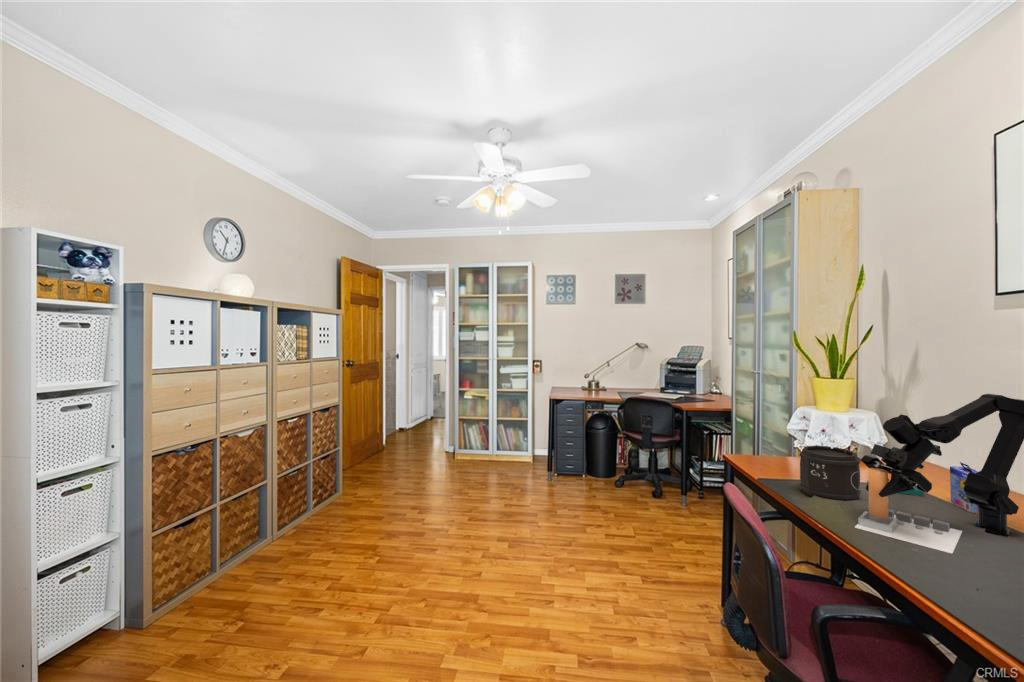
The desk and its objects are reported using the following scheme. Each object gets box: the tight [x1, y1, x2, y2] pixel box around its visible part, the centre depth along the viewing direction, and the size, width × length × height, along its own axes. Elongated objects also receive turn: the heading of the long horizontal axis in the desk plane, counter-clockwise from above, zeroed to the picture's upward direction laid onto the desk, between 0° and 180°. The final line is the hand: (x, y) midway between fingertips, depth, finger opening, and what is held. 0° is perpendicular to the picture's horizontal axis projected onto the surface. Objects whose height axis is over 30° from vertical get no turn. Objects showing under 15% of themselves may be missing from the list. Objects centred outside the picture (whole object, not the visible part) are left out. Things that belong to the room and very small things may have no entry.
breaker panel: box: [854, 508, 963, 554], centre depth 124 cm, size 20×20×3 cm
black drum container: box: [798, 445, 862, 501], centre depth 155 cm, size 18×18×16 cm
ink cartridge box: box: [949, 461, 979, 514], centre depth 142 cm, size 10×6×14 cm, turn 164°
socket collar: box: [857, 510, 898, 533], centre depth 127 cm, size 8×8×2 cm
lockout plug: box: [867, 468, 889, 518], centre depth 127 cm, size 4×4×13 cm
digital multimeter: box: [867, 480, 925, 497], centre depth 158 cm, size 7×15×3 cm, turn 68°
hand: (873, 493), depth 127 cm, fingers closed on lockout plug, 4 cm apart
